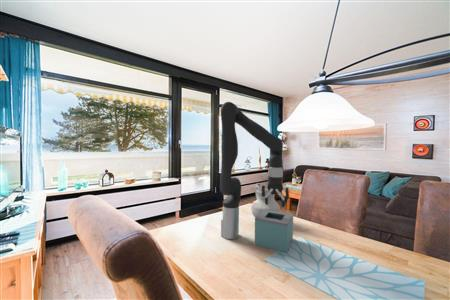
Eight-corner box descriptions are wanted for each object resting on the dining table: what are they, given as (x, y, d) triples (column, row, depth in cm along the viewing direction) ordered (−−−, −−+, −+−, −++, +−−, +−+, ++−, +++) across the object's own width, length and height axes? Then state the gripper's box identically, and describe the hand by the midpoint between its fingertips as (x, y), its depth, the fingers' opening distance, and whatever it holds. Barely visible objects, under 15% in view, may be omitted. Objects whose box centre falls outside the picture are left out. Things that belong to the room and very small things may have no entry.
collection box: (254, 244, 108) (254, 218, 107) (263, 232, 122) (264, 209, 122) (287, 252, 100) (287, 224, 100) (292, 238, 115) (293, 213, 114)
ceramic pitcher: (243, 220, 145) (241, 185, 143) (262, 212, 156) (261, 180, 154) (267, 231, 128) (265, 191, 125) (286, 221, 139) (285, 185, 137)
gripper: (290, 175, 110) (289, 205, 111) (264, 173, 117) (263, 202, 117) (287, 177, 104) (287, 209, 104) (260, 175, 110) (259, 205, 111)
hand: (274, 205), depth 111 cm, fingers open, 8 cm apart
